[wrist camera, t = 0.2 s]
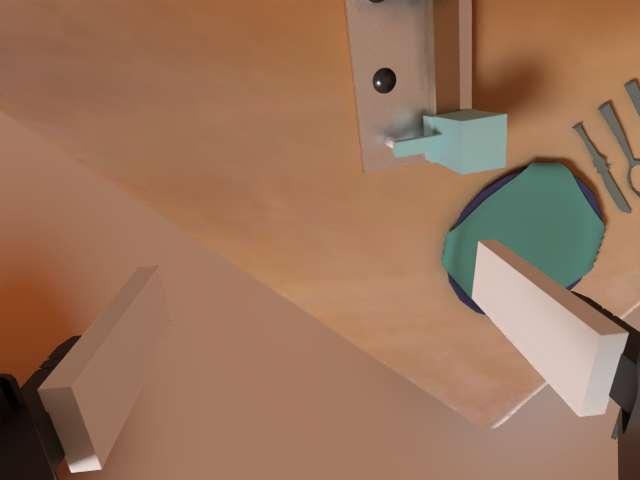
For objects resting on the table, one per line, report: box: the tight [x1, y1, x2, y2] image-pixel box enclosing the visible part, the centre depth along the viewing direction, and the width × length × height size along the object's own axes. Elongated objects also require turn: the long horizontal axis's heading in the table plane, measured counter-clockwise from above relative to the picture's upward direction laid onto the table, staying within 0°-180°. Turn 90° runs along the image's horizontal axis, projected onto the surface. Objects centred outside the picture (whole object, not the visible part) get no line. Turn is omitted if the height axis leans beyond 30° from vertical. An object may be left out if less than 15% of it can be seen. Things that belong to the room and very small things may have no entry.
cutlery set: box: [441, 81, 640, 321], centre depth 46 cm, size 20×30×2 cm, turn 133°
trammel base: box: [344, 0, 472, 173], centre depth 34 cm, size 20×12×11 cm, turn 9°
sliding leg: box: [386, 108, 507, 175], centre depth 36 cm, size 4×9×9 cm, turn 99°
